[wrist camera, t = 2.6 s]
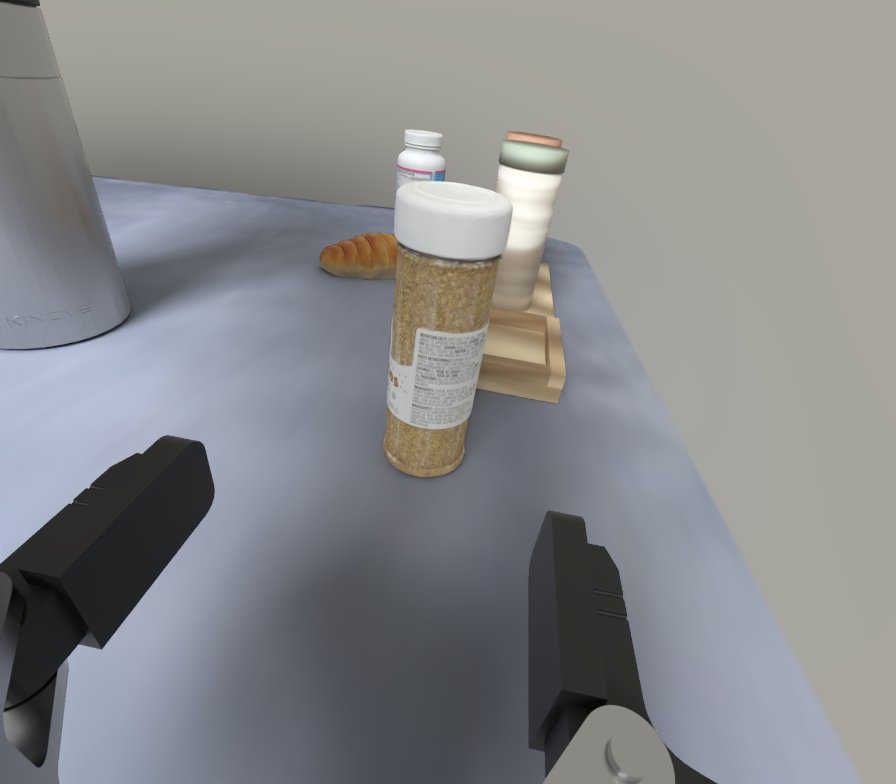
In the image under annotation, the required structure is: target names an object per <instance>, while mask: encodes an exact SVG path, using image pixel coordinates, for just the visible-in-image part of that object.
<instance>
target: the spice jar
mask: <svg viewBox="0 0 896 784" xmlns="http://www.w3.org/2000/svg"><path fill="white" fill-rule="evenodd" d="M512 213H513V206H512V203H511V202H510V201H509V199H507V198H506V197H504V196H503V195H501V194H499V193H496V192H493V191H490V190H487V189H484V188H480V187H476V186H471V185H465V184H460V183H453V182H442V181H417V182H410V183H407V184H404V185H402V186H401V187H400V188H399V189H398V190H397V194H396V203H395V217H394V236H395V237H396V239H397V240H398V241H397V243H396V247H397V249H398V255H397V264H396V267H397V270H396V284H395V298H394V314H393V318H392V325H391V341H390V356H389V371H388V388H387V404H388V409H387V427H386V434H385V436H384V439H383V450H384V453H385V455H386V457H387V458H388V461H389V462H390V463H391V464H392V465H393V466H395V467H396V468H397V469H398V470H400V471H402V472H404V473H407V474H409V475H414V476H417V477H436V476H442V475H445V474H447V473H450V472H452V471H453V470H454V469H456V468H457V467H458V465H459V464H460V463H461V462H462V459H463V457H464V453H465V446H464V439H465V434H466V430H467V425H468V418H469V416H470V414H471V411H472V407H473V402H474V397H475V391H476V387H477V382H478V377H479V372H480V367H481V362H482V357H483V352H484V346H485V341H486V336H487V331H488V325H489V313H490V308H491V302H492V295H493V291H494V286H495V281H496V276H497V271H498V264H499V263H500V261H501V260H502V255H501V253H503V252H504V251H505V249H506V247H507V242H508V237H509V231H510V226H511V220H512Z"/></svg>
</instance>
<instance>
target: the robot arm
mask: <svg viewBox="0 0 896 784" xmlns="http://www.w3.org/2000/svg"><path fill="white" fill-rule="evenodd" d="M36 6H40V3H39V0H0V348H2V349H29V348H43V347H50V346H56V345H63V344H67V343H71V342H76V341H80V340H83V339H87V338H90V337H93V336H96V335H99V334H101V333H103V332H106V331H108V330H110V329H112V328H114V327H115V326H117V325H118V324H120V323H121V322H123V321H124V320H125V319H126V318H127V317H128V315H129V313H130V311H131V309H130V303H129V299H128V296H127V293H126V289H125V286H124V283H123V279H122V276H121V273H120V269H119V266H118V263H117V259H116V256H115V252H114V248H113V245H112V242H111V238H110V235H109V232H108V228H107V225H106V222H105V219H104V215H103V212H102V209H101V205H100V202H99V199H98V195H97V192H96V189H95V185H94V182H93V179H92V175H91V172H90V169H89V166H88V162H87V159H86V156H85V153H84V149H83V146H82V142H81V139H80V136H79V133H78V129H77V126H76V123H75V119H74V116H73V113H72V109H71V106H70V103H69V99H68V96H67V93H66V89H65V86H64V83H63V79H62V77H61V74H60V71H59V67H58V64H57V61H56V57H55V54H54V51H53V47H52V44H51V41H50V37H49V34H48V31H47V27H46V24H45V21H44V17H43V14H42V11H41V9H40V8H36ZM214 493H215V488H214V483H213V479H212V475H211V471H210V467H209V463H208V459H207V454H206V450H205V447H204V445H203V444H202V443H201V442H200V441H195V440H190V439H184V438H179V437H174V436H169V435H167V436H163V437H161V438H160V439H158V440H157V441H156V442H155V443H154V444H153V445H152V446H151V447H149V448H148V449H147V450H146V451H145V452H144V453H143V454H139V453H136V454H134V455H132V456H130V457H128V458H126V459H125V460H123V461H121V462H119V463H117V464H115V465H113V466H111V467H110V468H109V469H108V470H107V471H105V472H104V473H103V474H102V475H101V476H100V477H99V478H97V479H96V480H95V481H94V482H93V483H92V484H91V486H90V488H89V489H87V488H86V489H85V490H84V491H83V492H82V493H80V494H79V495H78V496H77V497H76V498H75V499H74V501H73V503H72V504H68V505H67V506H66V507H65V508H63V509H62V510H61V511H60V512H59V513H58V514H57V515H55V516H54V517H53V518H52V519H51V520H50V521H49V522H47V523H46V524H45V525H44V526H43V527H42V528H41V529H40V530H38V531H37V532H36V533H35V534H34V535H33V536H32V537H30V538H29V539H28V540H27V541H26V542H25V543H24V544H23V545H21V546H20V547H19V548H18V549H17V550H16V551H15V552H13V553H12V554H11V555H10V556H9V557H8V558H7V559H5V560H4V561H3V562H2V563H1V564H0V784H59V778H58V760H59V751H60V742H61V733H62V724H63V715H64V706H65V697H66V688H67V679H68V670H69V664H68V660H67V658H68V656H69V655H70V654H71V653H72V651H73V650H74V649H75V648H76V647H77V645H78V644H80V645H85V646H89V647H94V648H98V649H103V647H104V646H105V645H106V643H107V642H108V641H109V639H110V638H111V637H112V636H113V634H114V633H115V632H116V630H117V629H118V628H119V627H120V625H121V624H122V623H123V621H124V620H125V619H126V618H127V616H128V615H129V614H130V612H131V611H132V610H133V609H134V607H135V606H136V605H137V603H138V602H139V601H140V599H141V598H142V597H143V596H144V594H145V593H146V592H147V590H148V589H149V588H150V587H151V585H152V584H153V583H154V581H155V580H156V579H157V578H158V576H159V575H160V574H161V572H162V571H163V570H164V568H165V567H166V566H167V565H168V563H169V562H170V561H171V559H172V558H173V557H174V556H175V554H176V553H177V552H178V550H179V549H180V548H181V547H182V545H183V544H184V543H185V541H186V540H187V539H188V538H189V536H190V535H191V534H192V532H193V531H194V530H195V528H196V527H197V526H198V525H199V523H200V522H201V521H202V519H203V518H204V517H205V516H206V514H207V513H208V511H209V509H210V507H211V505H212V502H213V499H214ZM528 594H529V748H530V749H535V750H539V751H544V752H545V777H546V779H545V780H544V782H543V783H542V784H717V783H715V782H714V781H712V780H710V779H709V778H707V777H705V776H704V775H702V774H700V773H699V772H697V771H695V770H694V769H692V768H691V767H689V766H688V765H686V764H685V763H683V762H682V761H681V760H680V759H679V758H678V757H676V756H675V755H674V754H673V753H672V752H671V750H670V749H669V748H668V747H667V746H666V745H665V744H664V742H663V741H662V739H661V738H660V736H659V735H658V734H657V732H656V731H655V729H654V727H653V725H652V723H651V721H650V719H649V717H648V714H647V712H646V709H645V705H644V701H643V696H642V690H641V685H640V680H639V675H638V670H637V664H636V659H635V654H634V649H633V644H632V638H631V633H630V628H629V623H628V621H627V612H626V607H625V602H624V599H623V591H622V586H621V581H620V576H619V571H618V568H617V567H616V565H615V563H614V562H613V560H612V558H611V557H610V555H609V553H608V552H607V550H606V548H605V547H603V546H598V545H593V544H588V543H587V535H586V528H585V522H584V519H583V518H582V517H579V516H574V515H569V514H564V513H559V512H554V511H548V512H547V513H546V516H545V518H544V521H543V524H542V527H541V530H540V533H539V536H538V538H537V541H536V544H535V547H534V550H533V553H532V557H531V561H530V568H529V582H528Z"/></svg>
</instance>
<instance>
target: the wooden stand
mask: <svg viewBox="0 0 896 784" xmlns="http://www.w3.org/2000/svg"><path fill="white" fill-rule="evenodd" d="M561 144H562V140H560V139H557V138H553V137H548V136H543V135H537V134H530V133H523V132H507V135H506V140H503V141H502V145H501V152H500V157H499V163H500V165H499V171H498V177H497V183H496V189H495V192H496V193H499V194H501V195H503V196H504V197H506V198H507V199H509V201H510V202H511V203H512V206H513V213H512V220H511V226H510V231H509V237H508V242H507V247H506V249H505V251H504V252H503V253H501V255H502V260H501V261H500V263H499V264H498V271H497V276H496V281H495V286H494V291H493V295H492V302H491V308H490V313H489V325H488V331H487V336H486V341H485V346H484V352H483V357H482V362H481V367H480V372H479V377H478V382H477V387H476V389H481V390H486V391H492V392H497V393H502V394H508V395H513V396H518V397H524V398H529V399H535V400H540V401H545V402H551V403H556V404H558V401H559V398H560V395H561V392H562V388H563V385H564V382H565V379H566V369H565V362H564V354H563V346H562V339H561V331H560V323H559V318H555V317H554V310H553V301H552V292H551V283H550V274H549V265H548V264H546V263H541V260H542V255H543V251H544V247H545V243H546V239H547V235H548V231H549V227H550V223H551V218H552V214H553V210H554V206H555V202H556V198H557V194H558V190H559V185H560V181H561V177H562V173H564V170H565V167H566V162H567V158H568V154H569V151H568V150H567V149H564V148H561Z"/></svg>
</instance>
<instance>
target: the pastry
mask: <svg viewBox="0 0 896 784" xmlns="http://www.w3.org/2000/svg"><path fill="white" fill-rule="evenodd" d="M397 241H398V240H397V239H396V237H395V236H394V234H384V233H366V234H364V235H361V236H356V237H355V238H353V239H350V240H342V241H340V242H339V243H337V244H333V245H331V246H328V247H326V248H325V249H324V250H323V251H322V252H321V256H320V263H319V265H320V266H321V267H322V268H323V269H324V270H326V271H327V272H329V273H331V274H333V275H335V276H338V277H351V278H360V279H366V280H374V279H396V270H397V267H396V264H397V255H398V249H397V247H396V243H397Z"/></svg>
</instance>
